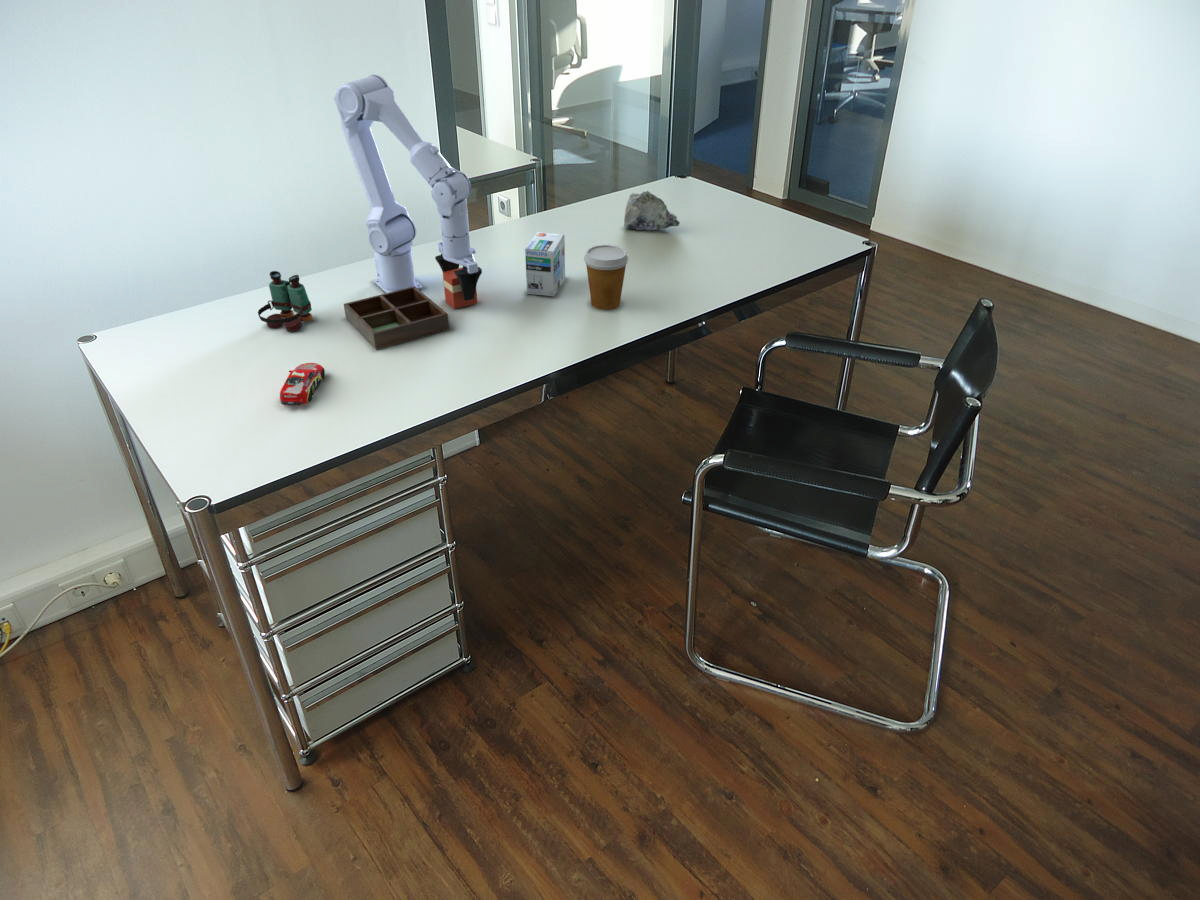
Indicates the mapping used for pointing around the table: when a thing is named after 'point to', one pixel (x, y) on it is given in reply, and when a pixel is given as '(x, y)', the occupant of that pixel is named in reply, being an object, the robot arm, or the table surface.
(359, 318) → the organiser
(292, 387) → the race car
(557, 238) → the light bulb box
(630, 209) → the mineral rock
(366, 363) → the table surface
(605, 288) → the disposable coffee cup
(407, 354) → the table surface
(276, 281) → the binoculars
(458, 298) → the red cream striped block
